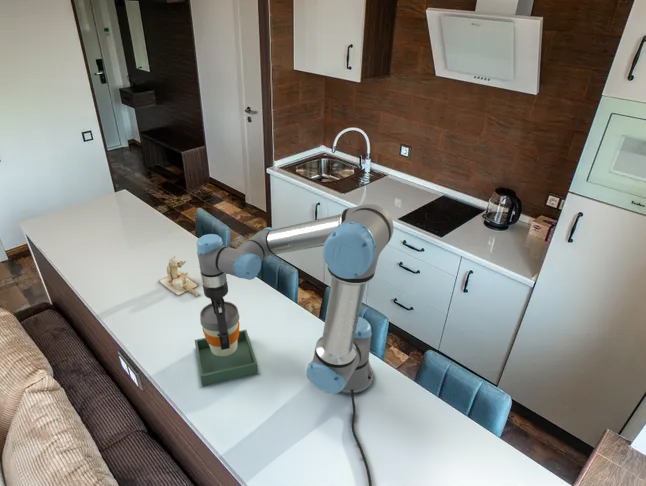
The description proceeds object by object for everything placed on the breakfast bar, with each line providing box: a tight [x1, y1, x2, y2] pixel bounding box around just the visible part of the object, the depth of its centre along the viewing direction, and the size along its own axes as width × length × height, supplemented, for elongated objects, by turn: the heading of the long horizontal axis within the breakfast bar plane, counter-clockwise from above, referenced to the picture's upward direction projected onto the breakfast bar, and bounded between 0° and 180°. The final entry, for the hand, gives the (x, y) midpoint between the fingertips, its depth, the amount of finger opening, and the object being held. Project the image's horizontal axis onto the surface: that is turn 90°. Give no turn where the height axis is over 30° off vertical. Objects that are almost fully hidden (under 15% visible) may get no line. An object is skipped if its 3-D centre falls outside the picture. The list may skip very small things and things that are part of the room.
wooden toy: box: [159, 255, 200, 297], centre depth 192 cm, size 22×10×14 cm, turn 44°
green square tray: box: [194, 329, 259, 387], centre depth 156 cm, size 19×19×5 cm
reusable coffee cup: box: [199, 300, 240, 356], centre depth 150 cm, size 13×13×15 cm
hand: (222, 335), depth 151 cm, fingers closed on reusable coffee cup, 12 cm apart
